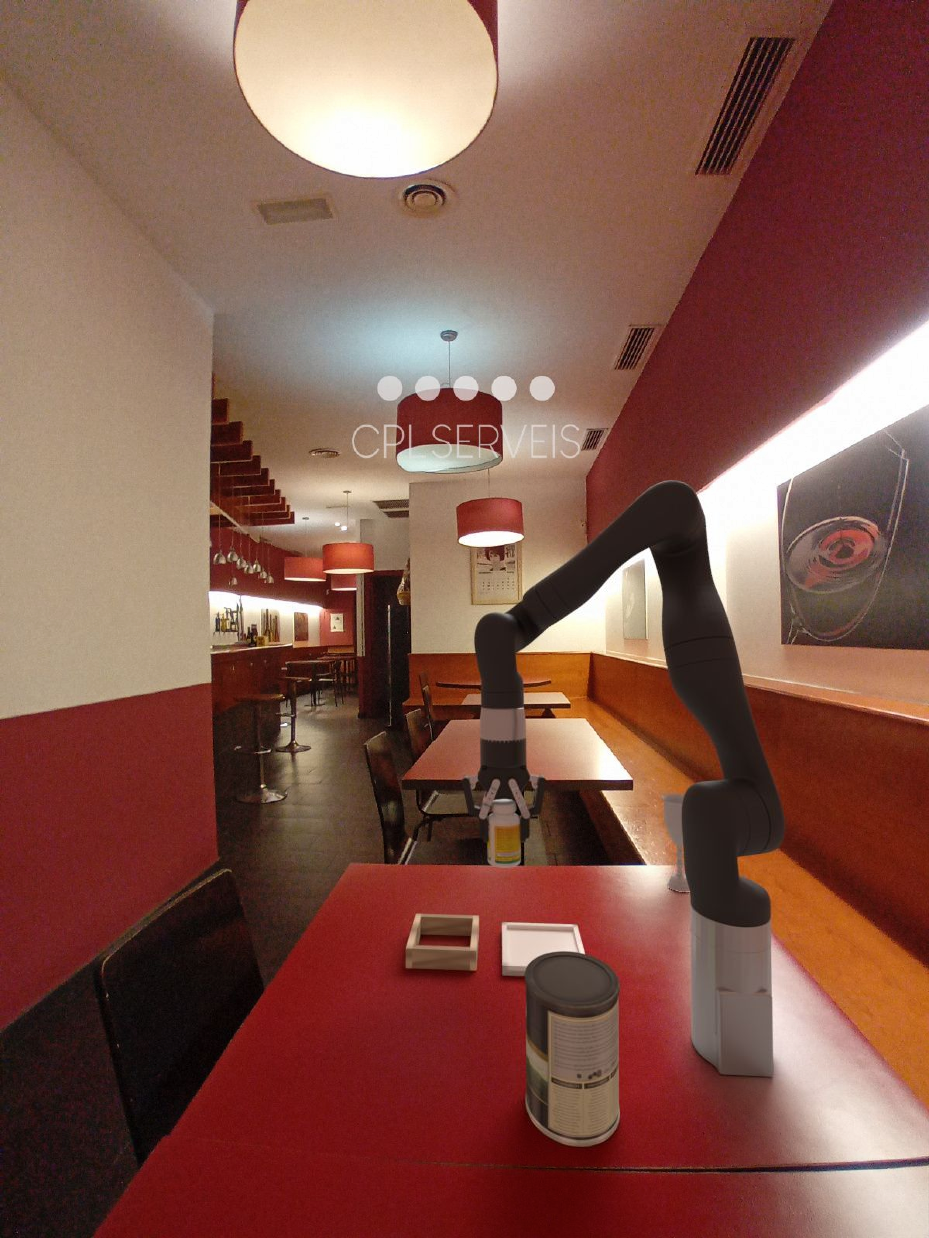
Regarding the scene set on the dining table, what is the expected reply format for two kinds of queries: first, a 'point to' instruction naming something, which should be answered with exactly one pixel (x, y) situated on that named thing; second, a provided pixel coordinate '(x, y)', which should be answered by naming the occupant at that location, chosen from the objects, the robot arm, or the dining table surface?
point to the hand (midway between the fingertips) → (504, 840)
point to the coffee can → (572, 1047)
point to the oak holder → (443, 954)
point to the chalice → (675, 837)
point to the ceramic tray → (535, 943)
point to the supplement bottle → (504, 834)
